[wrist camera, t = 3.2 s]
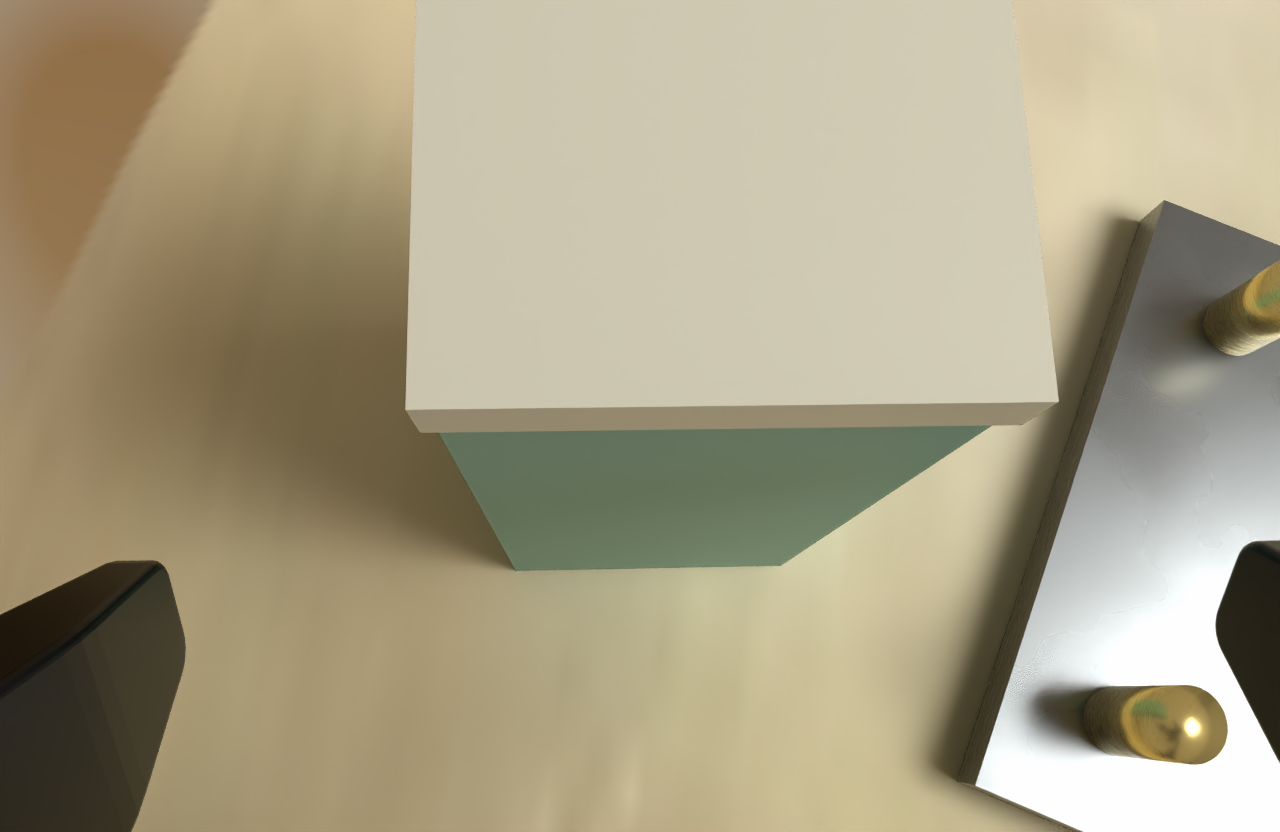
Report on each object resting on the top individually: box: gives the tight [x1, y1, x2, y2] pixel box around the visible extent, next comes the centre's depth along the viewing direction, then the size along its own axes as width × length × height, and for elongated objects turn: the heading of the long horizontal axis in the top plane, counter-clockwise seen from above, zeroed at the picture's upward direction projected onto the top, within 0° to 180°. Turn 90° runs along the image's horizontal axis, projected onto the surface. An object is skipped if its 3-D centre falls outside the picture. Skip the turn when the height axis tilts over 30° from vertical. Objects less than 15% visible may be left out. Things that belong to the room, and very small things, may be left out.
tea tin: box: [405, 0, 1059, 571], centre depth 16 cm, size 5×5×13 cm
